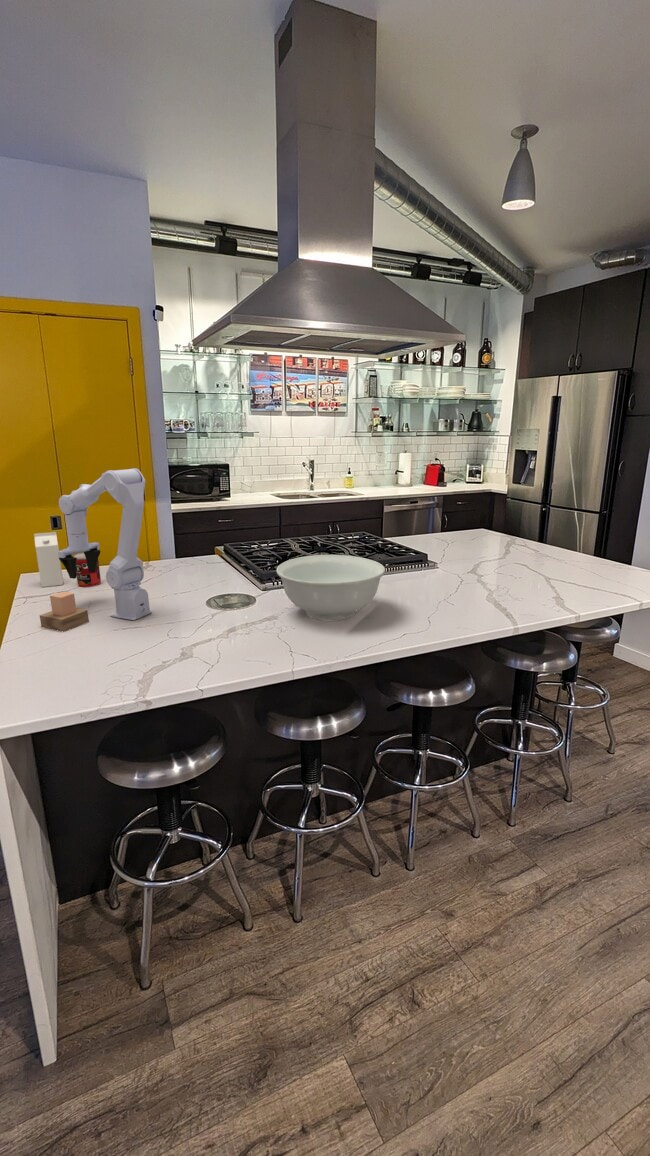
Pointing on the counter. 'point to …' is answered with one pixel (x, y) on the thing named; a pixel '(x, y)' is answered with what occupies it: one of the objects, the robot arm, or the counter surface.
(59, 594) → the terracotta block
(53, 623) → the walnut base block
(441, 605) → the counter surface
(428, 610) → the counter surface
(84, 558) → the canned food
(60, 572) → the milk carton
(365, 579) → the bowl
